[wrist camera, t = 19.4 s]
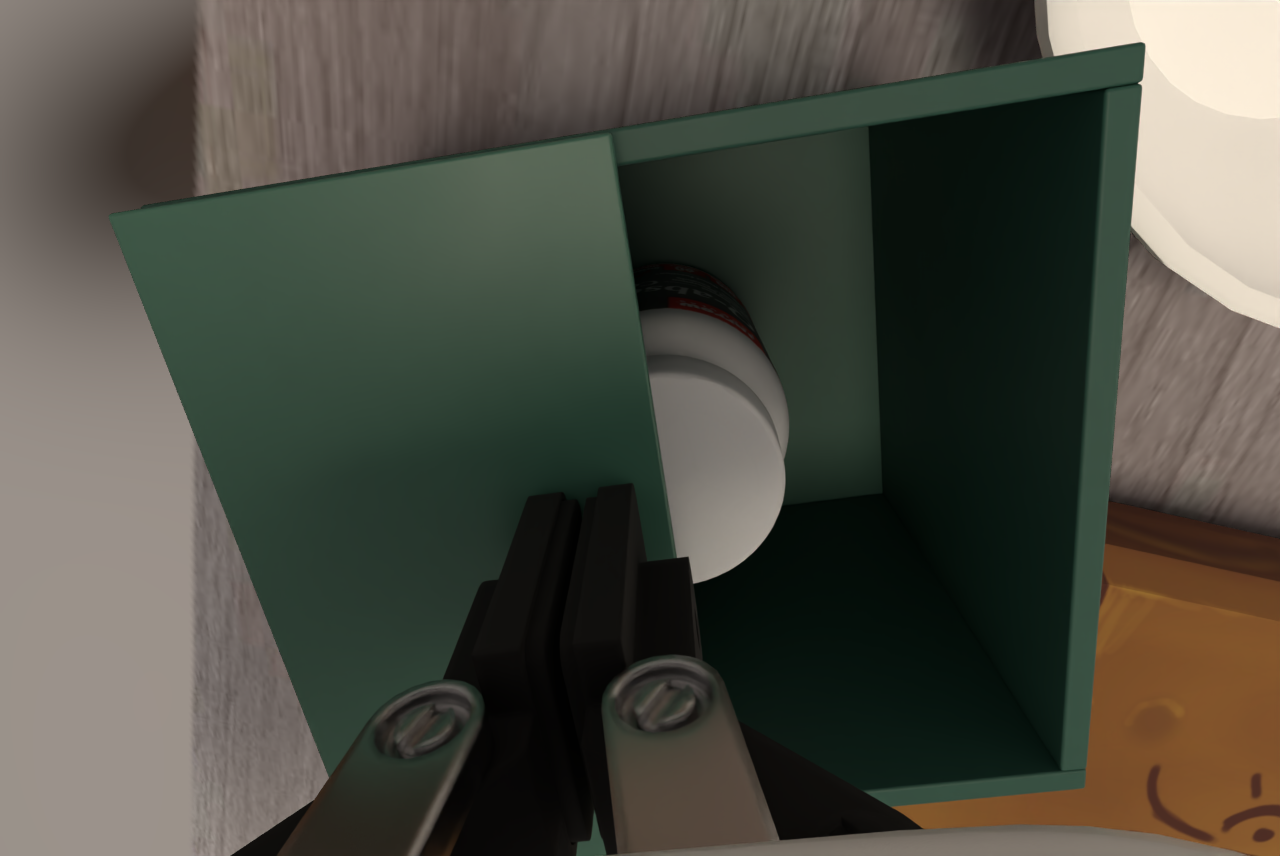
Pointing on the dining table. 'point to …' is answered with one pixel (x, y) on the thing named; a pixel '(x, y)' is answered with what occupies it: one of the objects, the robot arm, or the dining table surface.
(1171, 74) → the bowl
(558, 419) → the flap
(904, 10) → the dining table surface
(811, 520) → the green square bin
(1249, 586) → the diary
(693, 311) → the pill bottle
